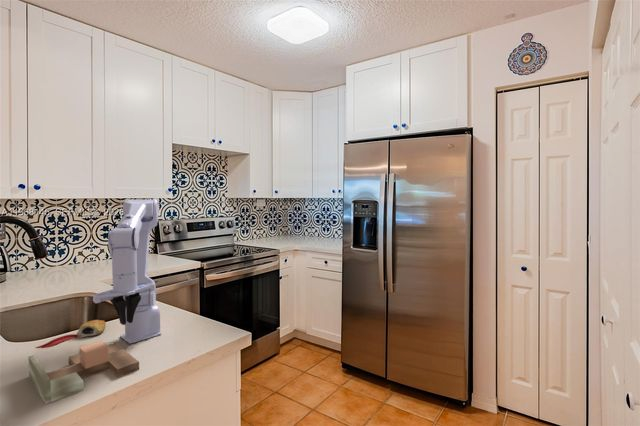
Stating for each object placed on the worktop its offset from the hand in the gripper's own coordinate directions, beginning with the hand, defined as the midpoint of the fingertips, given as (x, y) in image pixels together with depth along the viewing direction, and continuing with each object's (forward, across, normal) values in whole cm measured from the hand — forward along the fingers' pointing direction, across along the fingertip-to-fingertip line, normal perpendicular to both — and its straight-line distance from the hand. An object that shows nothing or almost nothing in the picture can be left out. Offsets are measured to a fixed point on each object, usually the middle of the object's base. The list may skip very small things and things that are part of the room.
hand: (126, 322), depth 92 cm
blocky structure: (+10, -10, 0) cm, 14 cm away
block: (+8, -8, 0) cm, 11 cm away
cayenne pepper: (+11, -9, +26) cm, 30 cm away
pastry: (+10, -1, +27) cm, 29 cm away
